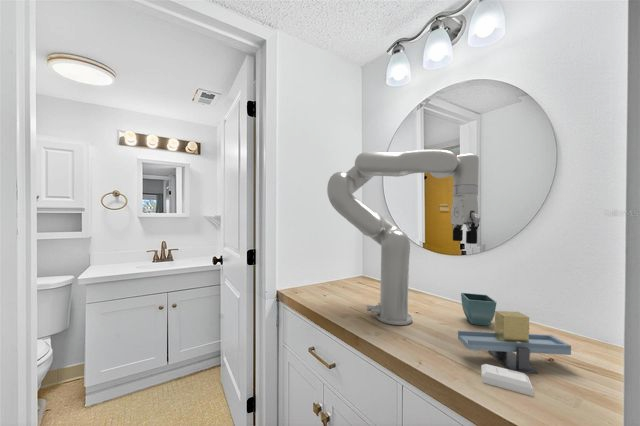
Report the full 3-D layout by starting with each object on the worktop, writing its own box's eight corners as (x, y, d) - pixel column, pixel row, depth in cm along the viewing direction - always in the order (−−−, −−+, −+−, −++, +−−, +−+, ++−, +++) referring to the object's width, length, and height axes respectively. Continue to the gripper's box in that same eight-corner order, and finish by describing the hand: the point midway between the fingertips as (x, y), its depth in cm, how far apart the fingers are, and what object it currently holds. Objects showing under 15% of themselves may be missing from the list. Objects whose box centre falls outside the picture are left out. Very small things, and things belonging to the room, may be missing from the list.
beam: (469, 350, 66) (470, 341, 66) (456, 337, 73) (457, 329, 73) (572, 356, 65) (572, 346, 65) (549, 342, 72) (549, 333, 72)
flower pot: (496, 329, 89) (497, 302, 90) (467, 326, 91) (468, 299, 91) (486, 319, 98) (486, 294, 98) (459, 316, 100) (460, 292, 100)
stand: (511, 372, 64) (512, 349, 64) (487, 351, 74) (488, 331, 74) (538, 373, 64) (538, 350, 64) (510, 352, 74) (510, 332, 74)
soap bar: (481, 372, 64) (481, 361, 64) (528, 385, 60) (528, 373, 60) (482, 383, 60) (482, 371, 60) (533, 398, 56) (533, 385, 56)
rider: (503, 344, 67) (504, 316, 67) (494, 337, 71) (495, 310, 71) (528, 345, 67) (529, 317, 67) (518, 338, 71) (518, 311, 71)
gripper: (443, 193, 100) (442, 239, 100) (466, 188, 83) (465, 244, 83) (464, 193, 100) (463, 240, 100) (491, 189, 83) (490, 245, 82)
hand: (464, 242), depth 91 cm, fingers open, 9 cm apart
